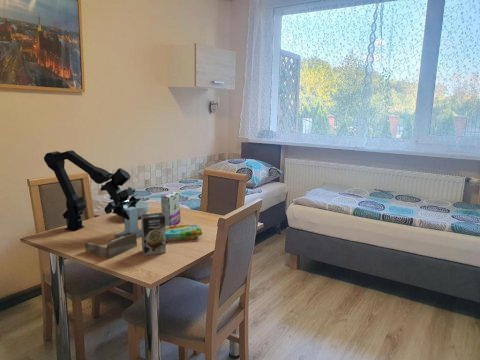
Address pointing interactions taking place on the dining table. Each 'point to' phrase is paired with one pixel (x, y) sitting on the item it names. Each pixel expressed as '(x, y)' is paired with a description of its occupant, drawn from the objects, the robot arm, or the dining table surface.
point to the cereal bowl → (140, 207)
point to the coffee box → (153, 233)
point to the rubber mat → (138, 233)
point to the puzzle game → (182, 232)
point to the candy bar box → (171, 208)
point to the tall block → (131, 220)
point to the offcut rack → (113, 246)
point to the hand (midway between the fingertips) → (133, 217)
